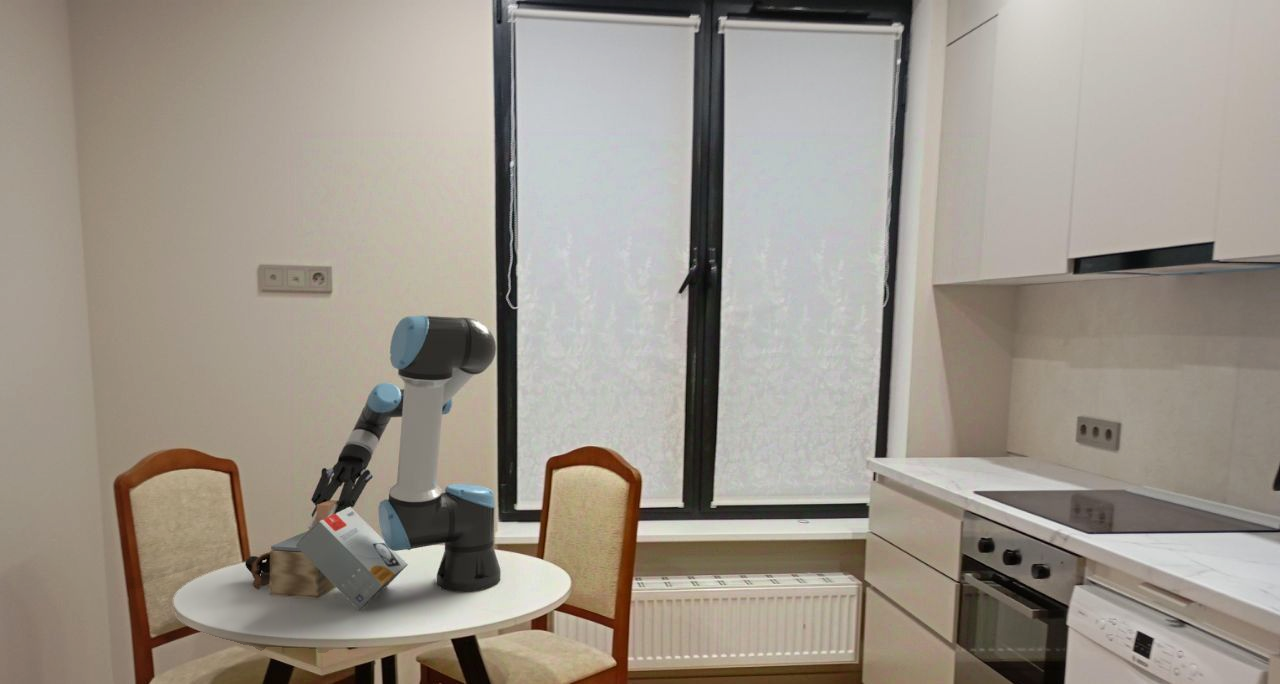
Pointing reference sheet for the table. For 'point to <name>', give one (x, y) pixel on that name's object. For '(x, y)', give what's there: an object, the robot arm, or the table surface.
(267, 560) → the pottery mug
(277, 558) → the carton
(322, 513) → the lid
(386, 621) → the table surface
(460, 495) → the robot arm
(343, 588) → the hard drive box
